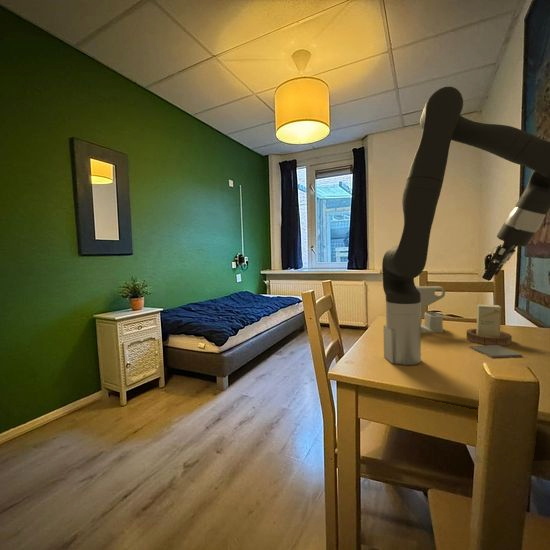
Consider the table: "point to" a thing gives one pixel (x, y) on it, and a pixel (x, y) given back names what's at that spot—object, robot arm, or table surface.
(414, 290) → the robot arm
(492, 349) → the slate coaster
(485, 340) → the walnut ring stand
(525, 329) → the table surface
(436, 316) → the phone holder
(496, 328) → the skincare box
